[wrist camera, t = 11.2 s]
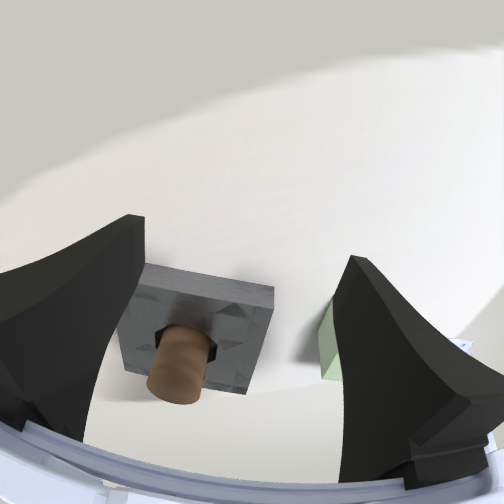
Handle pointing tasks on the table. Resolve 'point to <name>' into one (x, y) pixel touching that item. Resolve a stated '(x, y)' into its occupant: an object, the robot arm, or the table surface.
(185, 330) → the walnut peg
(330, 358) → the square bit
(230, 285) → the socket block
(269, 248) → the table surface
